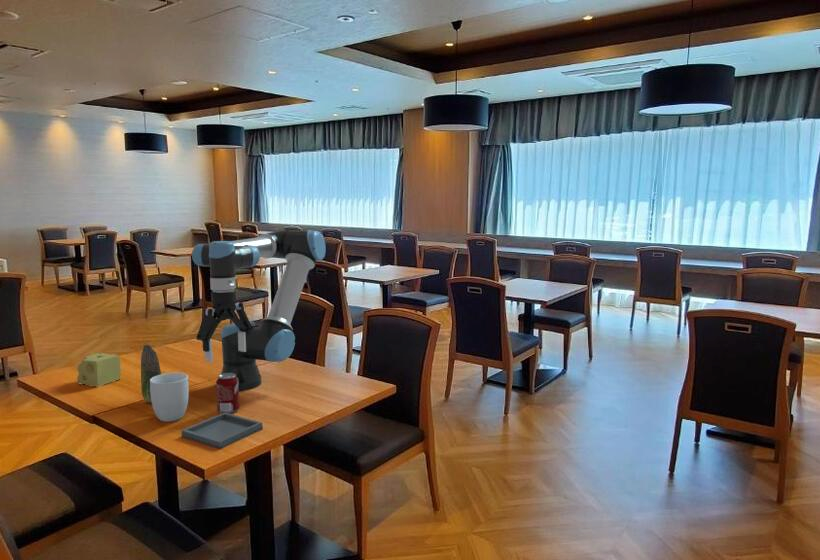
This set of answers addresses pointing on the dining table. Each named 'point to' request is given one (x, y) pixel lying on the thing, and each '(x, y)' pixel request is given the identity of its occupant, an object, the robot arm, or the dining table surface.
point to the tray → (222, 430)
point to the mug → (169, 395)
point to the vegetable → (148, 370)
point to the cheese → (99, 369)
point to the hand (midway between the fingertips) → (226, 356)
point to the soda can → (227, 393)
